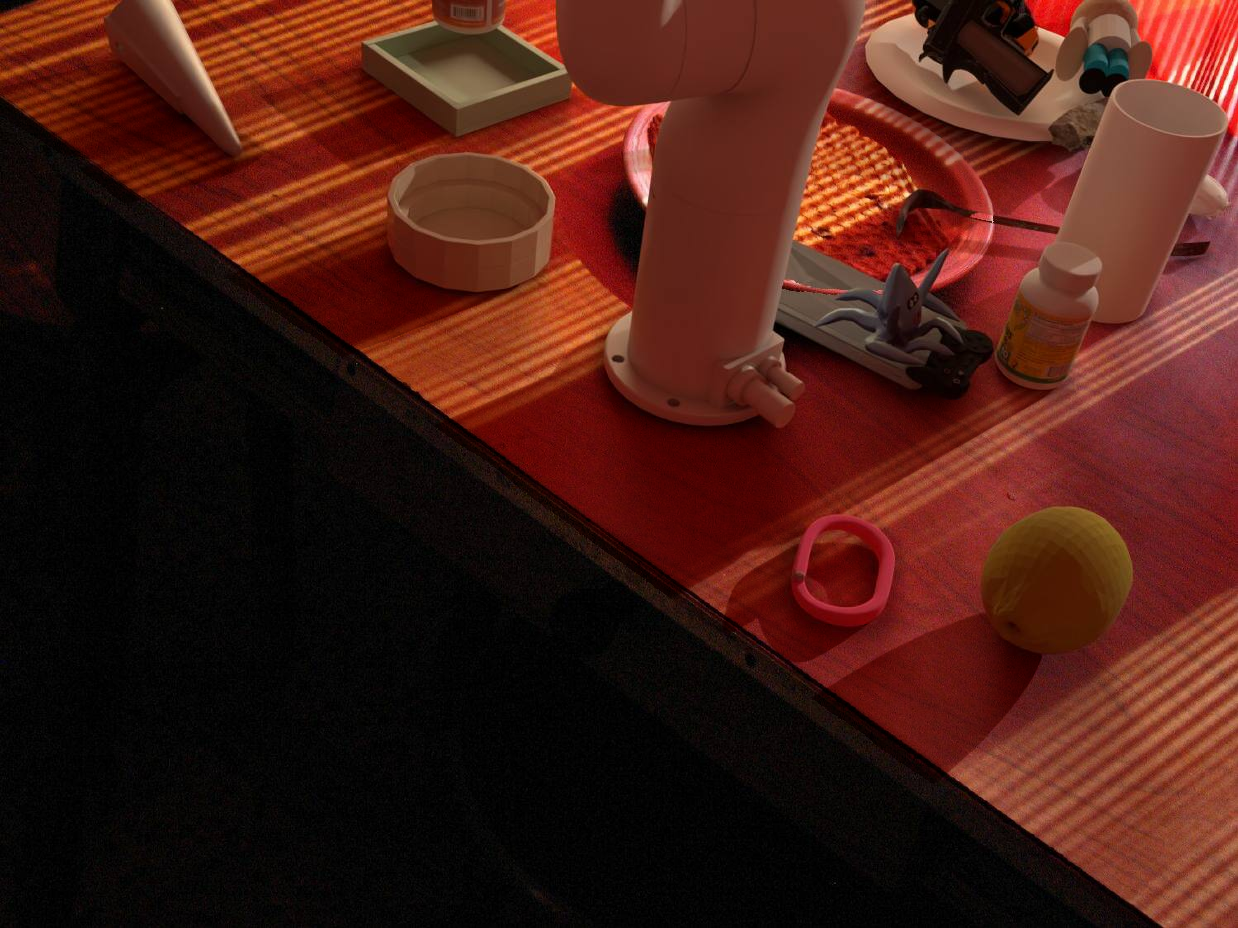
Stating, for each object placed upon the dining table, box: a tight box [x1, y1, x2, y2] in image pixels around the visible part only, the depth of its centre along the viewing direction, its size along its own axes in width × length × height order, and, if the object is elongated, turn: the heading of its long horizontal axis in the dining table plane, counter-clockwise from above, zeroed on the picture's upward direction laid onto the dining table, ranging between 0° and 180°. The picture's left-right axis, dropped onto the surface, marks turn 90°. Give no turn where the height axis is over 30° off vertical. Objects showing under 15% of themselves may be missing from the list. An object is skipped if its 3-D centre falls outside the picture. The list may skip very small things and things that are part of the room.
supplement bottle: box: [994, 242, 1102, 391], centre depth 97 cm, size 5×5×10 cm
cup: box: [1053, 78, 1229, 325], centre depth 103 cm, size 8×8×16 cm
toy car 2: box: [910, 0, 1040, 57], centre depth 132 cm, size 12×12×3 cm
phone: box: [774, 239, 969, 391], centre depth 102 cm, size 8×16×1 cm, turn 54°
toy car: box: [1189, 173, 1233, 221], centre depth 120 cm, size 5×12×4 cm, turn 44°
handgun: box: [918, 0, 1054, 116], centre depth 127 cm, size 3×19×12 cm
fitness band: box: [790, 514, 896, 628], centre depth 83 cm, size 8×6×2 cm
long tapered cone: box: [102, 0, 243, 158], centre depth 114 cm, size 6×6×19 cm
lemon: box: [979, 506, 1134, 655], centre depth 79 cm, size 11×8×8 cm
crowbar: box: [895, 188, 1211, 257], centre depth 112 cm, size 26×2×5 cm
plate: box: [864, 13, 1105, 144], centre depth 131 cm, size 25×25×2 cm
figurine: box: [813, 247, 995, 401], centre depth 95 cm, size 10×12×8 cm
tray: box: [360, 20, 573, 138], centre depth 121 cm, size 14×13×3 cm
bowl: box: [386, 151, 557, 293], centre depth 102 cm, size 12×12×4 cm
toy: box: [1055, 0, 1154, 97], centre depth 130 cm, size 8×6×15 cm
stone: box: [1048, 97, 1110, 153], centre depth 122 cm, size 13×5×3 cm, turn 135°
